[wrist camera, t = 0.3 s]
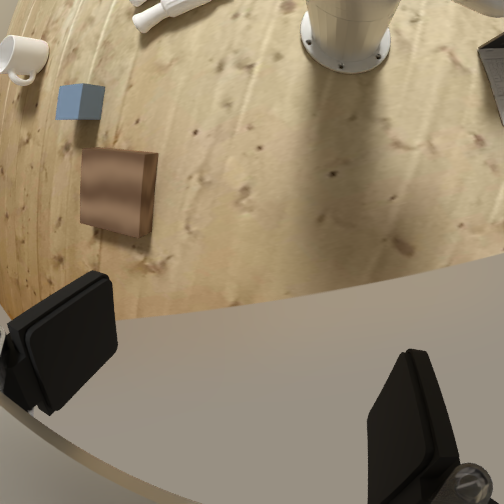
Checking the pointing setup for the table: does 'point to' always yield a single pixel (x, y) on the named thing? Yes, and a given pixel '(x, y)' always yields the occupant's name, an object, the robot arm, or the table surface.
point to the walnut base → (118, 190)
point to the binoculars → (162, 12)
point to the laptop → (495, 68)
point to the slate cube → (80, 102)
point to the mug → (22, 58)
